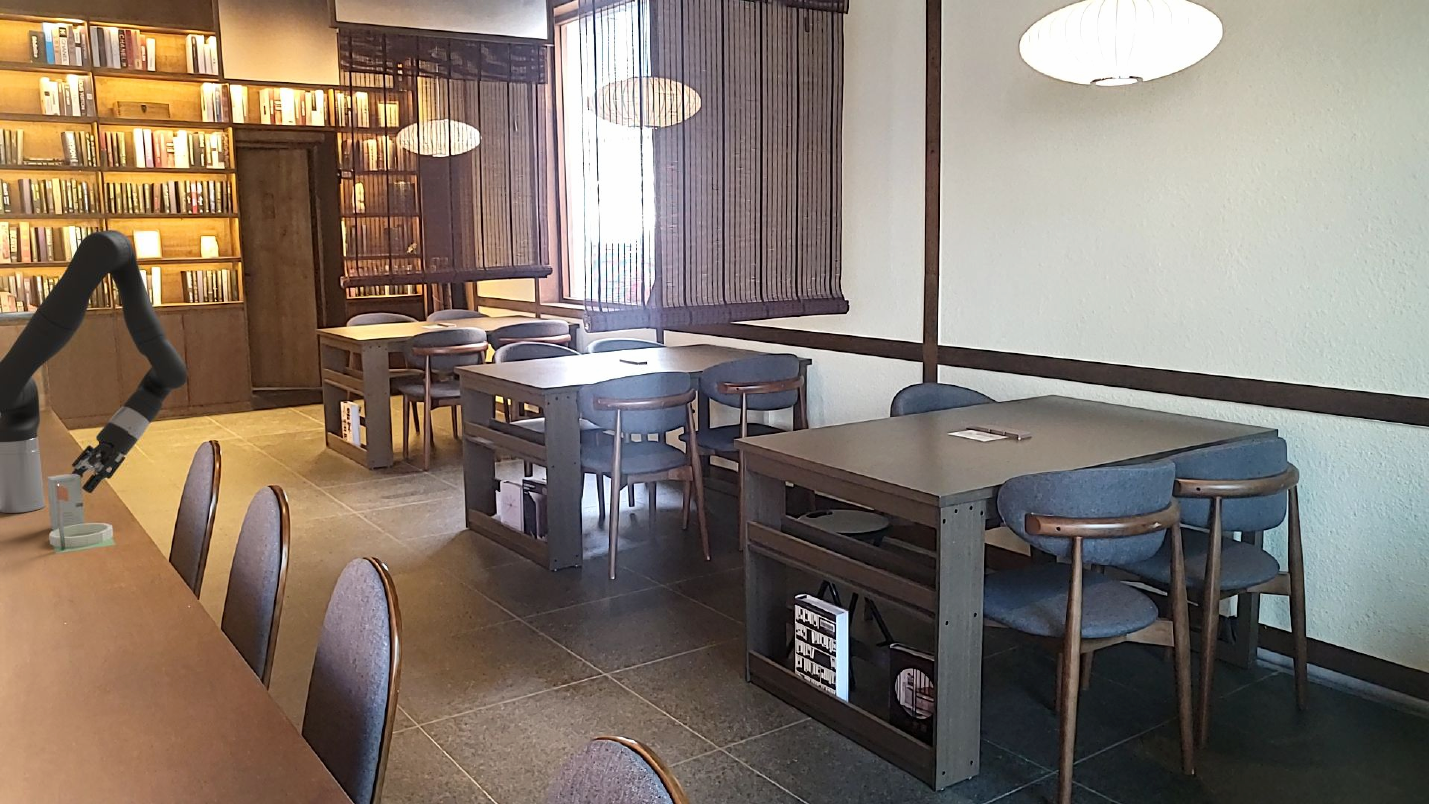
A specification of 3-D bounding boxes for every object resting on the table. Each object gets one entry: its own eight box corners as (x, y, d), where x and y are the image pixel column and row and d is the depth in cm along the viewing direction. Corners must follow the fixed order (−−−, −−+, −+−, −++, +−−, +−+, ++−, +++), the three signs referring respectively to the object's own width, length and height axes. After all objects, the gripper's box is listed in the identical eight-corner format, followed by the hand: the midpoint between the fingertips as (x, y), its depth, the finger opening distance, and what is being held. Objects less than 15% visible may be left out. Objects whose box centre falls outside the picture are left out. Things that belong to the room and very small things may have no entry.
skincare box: (55, 533, 245) (50, 480, 243) (50, 529, 248) (44, 476, 246) (86, 528, 249) (81, 475, 247) (81, 524, 252) (75, 472, 250)
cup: (40, 541, 237) (39, 532, 237) (96, 529, 246) (95, 520, 246) (66, 550, 230) (65, 540, 230) (122, 537, 240) (121, 528, 239)
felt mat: (49, 535, 243) (49, 533, 243) (106, 527, 249) (106, 526, 249) (55, 555, 228) (55, 553, 228) (115, 546, 234) (115, 544, 234)
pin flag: (60, 549, 231) (53, 484, 228) (64, 548, 231) (57, 483, 229) (71, 553, 228) (64, 487, 226) (75, 552, 228) (68, 486, 226)
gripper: (95, 418, 258) (48, 475, 251) (126, 424, 250) (78, 483, 242) (120, 437, 263) (75, 493, 256) (151, 443, 255) (105, 501, 247)
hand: (76, 488), depth 249 cm, fingers open, 8 cm apart
